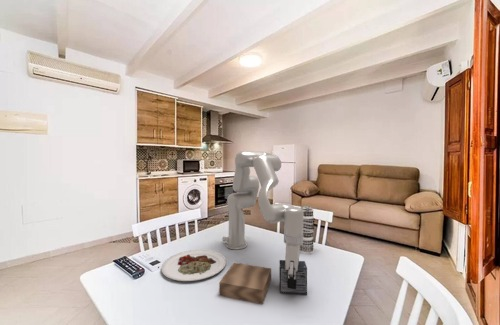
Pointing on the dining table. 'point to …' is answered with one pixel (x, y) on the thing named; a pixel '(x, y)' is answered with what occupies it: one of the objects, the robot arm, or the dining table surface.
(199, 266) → the plated food
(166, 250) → the dining table surface
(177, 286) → the dining table surface
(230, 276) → the block
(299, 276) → the small box
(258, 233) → the dining table surface
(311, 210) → the decorative candle
